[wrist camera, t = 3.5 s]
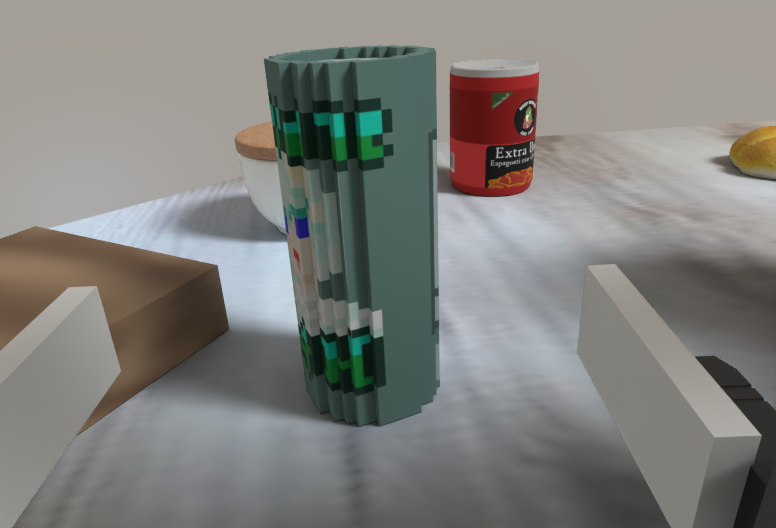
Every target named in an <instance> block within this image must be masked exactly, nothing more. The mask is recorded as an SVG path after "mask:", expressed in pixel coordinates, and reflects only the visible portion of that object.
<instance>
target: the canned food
mask: <svg viewBox="0 0 776 528" xmlns="http://www.w3.org/2000/svg"><path fill="white" fill-rule="evenodd" d="M538 86H539V64H538V63H537V62H534V61H529V60H518V59H487V60H472V61H464V62H458V63H455V64H453V65H451V70H450V177H451V181H452V184H453V186H454V187H455V188H456V189H458V190H459V191H461V192H464V193H467V194H472V195H477V196H490V197H496V196H508V195H514V194H518V193H521V192H523V191H525V190H526V189H528V187H529V186H530V183H531V181H532V176H533V161H534V146H535V131H536V116H537V101H538Z"/></svg>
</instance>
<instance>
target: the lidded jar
mask: <svg viewBox="0 0 776 528" xmlns="http://www.w3.org/2000/svg"><path fill="white" fill-rule="evenodd" d="M235 144H236V149H237V151H238V153H239V160H240V165H241V171H242V175H243V179H244V182H245V186H246V188H247V191H248V193H249V196H250V198H251V200H252V202H253V204H254V205H255V207H256V208H257V209H258V211H259V212H260V213H261V214H262V215H263V216H264V217H265V218H266V219H267V220H268V221H270V222H271V223H273V224H274V225H276V226H278V230H279V231H280V232H281V233H283V234H285V235H287V234H286V226H285V218H284V211H283V203H282V195H281V187H280V180H279V172H278V164H277V157H276V149H275V141H274V133H273V126H272V122H267V123H263V124H259V125H255V126H253V127H249V128H247V129H245V130H242V131H241V132H239V133H238V134H237V135H236V137H235Z"/></svg>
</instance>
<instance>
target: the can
mask: <svg viewBox="0 0 776 528" xmlns="http://www.w3.org/2000/svg"><path fill="white" fill-rule="evenodd" d="M264 64H265V71H266V79H267V87H268V95H269V102H270V110H271V117H272V126H273V133H274V141H275V149H276V157H277V164H278V172H279V180H280V187H281V195H282V203H283V211H284V218H285V226H286V234H287V242H288V249H289V257H290V265H291V273H292V280H293V288H294V296H295V304H296V311H297V319H298V327H299V335H300V342H301V350H302V358H303V366H304V373H305V381H306V389H307V391H308V393H309V395H310V396H311V398H312V400H313V402H314V403H315V405H316V407H317V409H318V410H319V412H320V414H321V413H325V412H328V411H329V412H330V414H331V415H332V417H333V419H334V421H338V420H341V419H344V420H345V422H346V423H347V424H349V423H352V422H355V421H356V423H357V424H358V426H359V427H360V426H363V425H366V424H369V423H371V422H374V421H377V423H378V424H379V426H382V425H385V424H388V423H391V422H394V421H397V420H400V419H402V418H405V417H408V416H411V415H414V414H417V413H420V412H421V405H424V404H426V403H429V402H432V401H433V395H434V394H436V388H437V387H440V376H439V289H438V202H437V114H436V51H435V49H434V48H426V47H417V46H361V47H339V48H328V49H317V50H305V51H300V52H291V53H284V54H279V55H277V56H269V58H267V59H264Z"/></svg>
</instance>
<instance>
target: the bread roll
mask: <svg viewBox="0 0 776 528" xmlns="http://www.w3.org/2000/svg"><path fill="white" fill-rule="evenodd" d="M729 155H730V158H731V160H732V163H733V164H734V165H735V166H736V167H738V168H739V170H740V171H741V172H742V173H744V174H746V175H750V176H754V177H760V178H766V179H773V180H776V126H768V127H762V128H759V129H756V130H754V131H752V132H750V133H747V134H746V135H744V136H743V137H741V138H739V139H738V140H737V141H735V142H734V143H733V145H732V147H731V149H730V154H729Z"/></svg>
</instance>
